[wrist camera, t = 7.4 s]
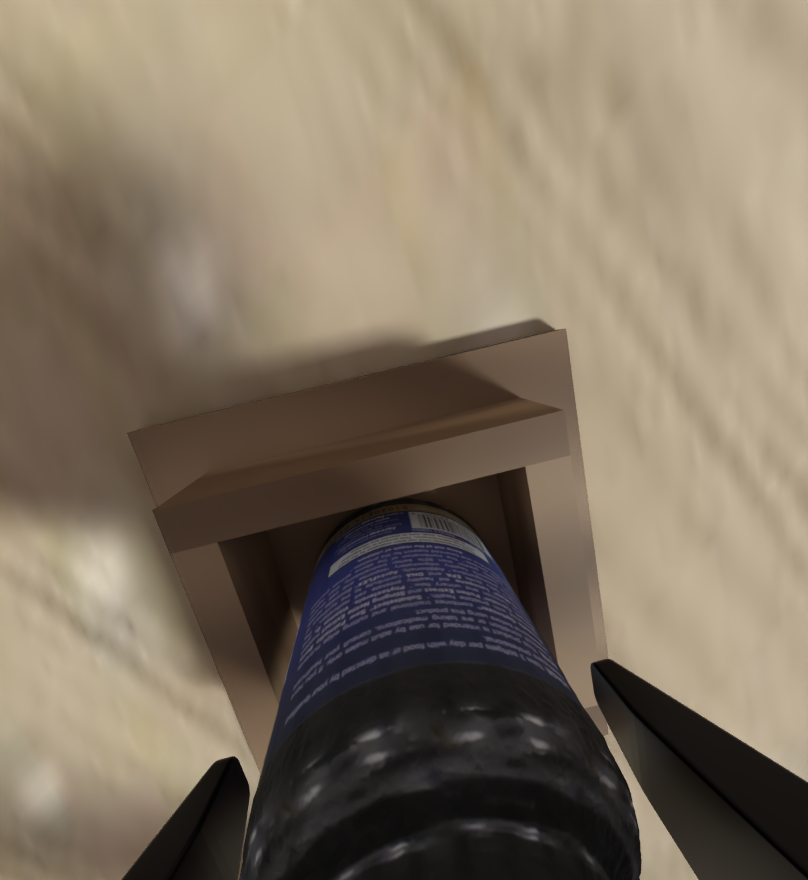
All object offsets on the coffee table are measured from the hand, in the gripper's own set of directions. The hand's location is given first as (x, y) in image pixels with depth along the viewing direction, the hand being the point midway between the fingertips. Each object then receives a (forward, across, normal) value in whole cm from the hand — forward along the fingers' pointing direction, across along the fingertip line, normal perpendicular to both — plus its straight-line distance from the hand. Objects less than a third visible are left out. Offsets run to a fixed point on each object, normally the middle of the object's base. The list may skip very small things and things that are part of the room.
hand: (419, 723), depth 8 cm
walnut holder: (+6, 0, 0) cm, 6 cm away
